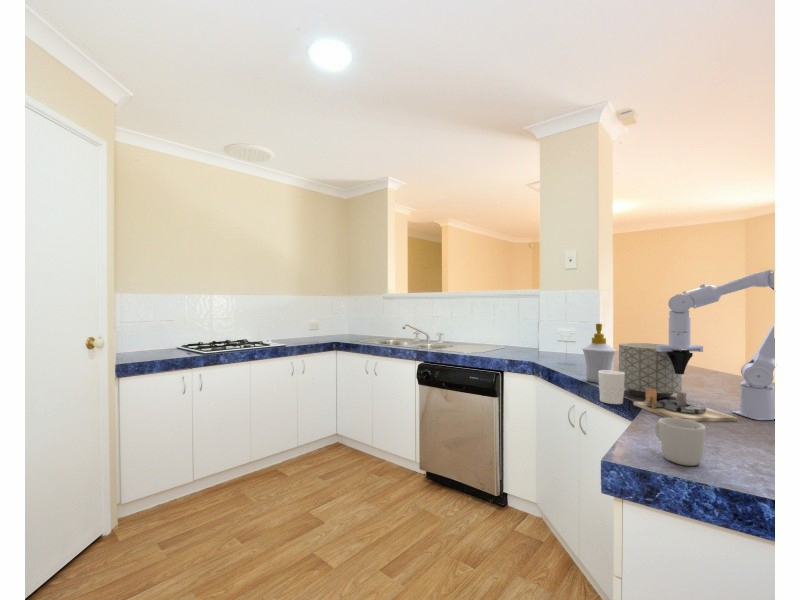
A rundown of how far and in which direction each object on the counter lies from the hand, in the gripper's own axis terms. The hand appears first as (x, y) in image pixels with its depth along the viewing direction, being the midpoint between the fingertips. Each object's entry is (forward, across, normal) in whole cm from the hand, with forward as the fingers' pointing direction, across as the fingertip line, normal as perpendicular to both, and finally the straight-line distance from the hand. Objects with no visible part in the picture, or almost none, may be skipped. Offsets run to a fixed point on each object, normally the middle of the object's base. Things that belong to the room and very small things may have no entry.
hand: (679, 373), depth 125 cm
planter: (+11, 0, -14) cm, 18 cm away
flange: (+9, +7, +6) cm, 13 cm away
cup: (+11, +34, +41) cm, 54 cm away
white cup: (+11, +19, -6) cm, 23 cm away
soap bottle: (+11, +4, -39) cm, 41 cm away
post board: (+10, +5, +7) cm, 13 cm away
